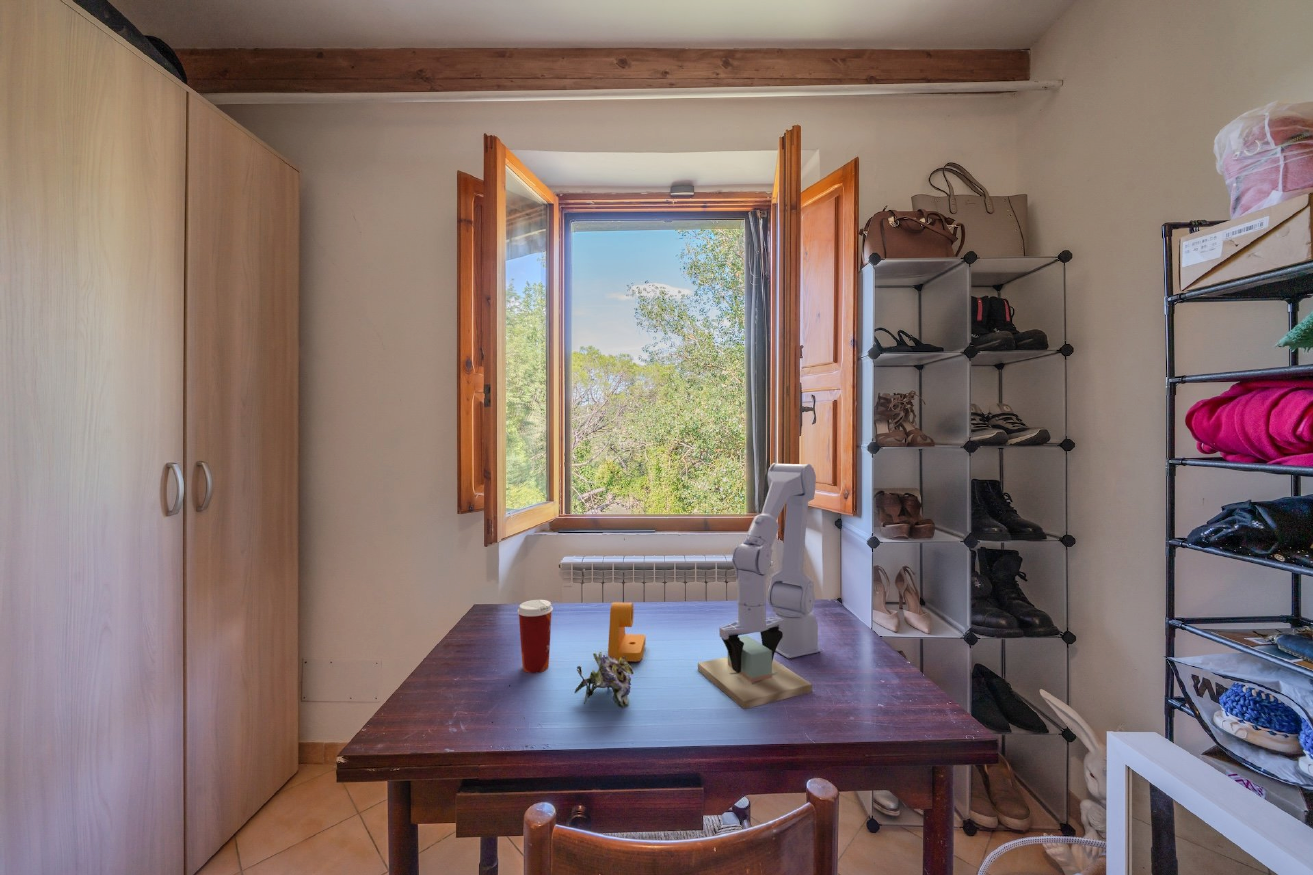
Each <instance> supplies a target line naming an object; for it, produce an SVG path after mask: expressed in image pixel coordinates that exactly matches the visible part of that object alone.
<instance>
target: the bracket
mask: <svg viewBox="0 0 1313 875" xmlns="http://www.w3.org/2000/svg"><path fill="white" fill-rule="evenodd" d="M634 614H635V612H634V603H633V602H618V601H617V602H612V603H611V605H610V613H609V628H608V648H607V657H608V656H610V655H611V658H615V659H616V660H617V662H618V661H619V659H620V658H622V659H623V656H625V658H626V661H627V662H640V661H642V660H643V656H644V654H645V651H646V649H645V647H646V635H645V634H638V633H637V634H635V633H634V634H633V633H631V634H629V633H626V628H632V627H633V623H634ZM608 658H609V657H608Z"/></svg>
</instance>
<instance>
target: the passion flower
mask: <svg viewBox="0 0 1313 875" xmlns="http://www.w3.org/2000/svg"><path fill="white" fill-rule="evenodd" d="M602 653H603V651H599V652H598V654H597V653H596V652H593V654H592V655H593V658H594V661H595V662H596V664H597V666H598V670H597V672H596V670H592V671H590V675H589V677H588V678H584V677H583V675H582V666H581V665H578V666H576V671H577V673H578V674H579V676H580V678H582V681H581V682H580V683H579V684H578V686H577V687H576V688H575V690H574V694H577V693H578V692H579V691H580V690H581V689H582V688H584V687H585V686H586V687H585V688H586V690H585V696H584V701H583V705H585V704H586V702H587V700H588V699H589V698H590V697H591V696H593V694H594V692H595V690H597V689H598V688H599V689H608V690H609V689H611V690H612V693H613V694H612V701H613V703H614V704H615V705H617V706H618V707H620V708H621V709H623V708H624V706H625V707H628V706H629V704H630V701H629V698H628V696H629V695H630V693H631V685H632V683H631V681H632V678H631V675H634V671H633V667H632V666H631V665H630V664H629V663H628V661H626V658H625V656H623V659H622V658H620V659H619V661H617V660H616V659H615V658H611V655H610V656H608V655H605V654H602ZM608 657H609V658H608ZM630 674H631V675H630Z"/></svg>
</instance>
